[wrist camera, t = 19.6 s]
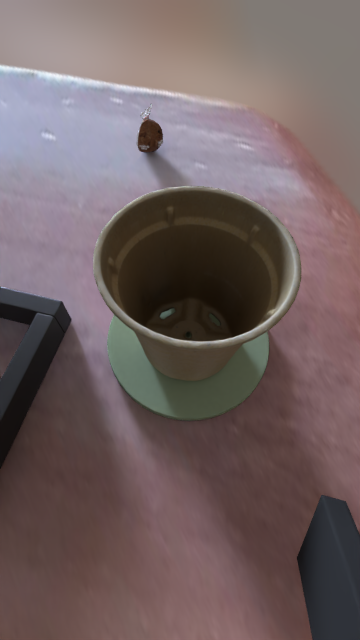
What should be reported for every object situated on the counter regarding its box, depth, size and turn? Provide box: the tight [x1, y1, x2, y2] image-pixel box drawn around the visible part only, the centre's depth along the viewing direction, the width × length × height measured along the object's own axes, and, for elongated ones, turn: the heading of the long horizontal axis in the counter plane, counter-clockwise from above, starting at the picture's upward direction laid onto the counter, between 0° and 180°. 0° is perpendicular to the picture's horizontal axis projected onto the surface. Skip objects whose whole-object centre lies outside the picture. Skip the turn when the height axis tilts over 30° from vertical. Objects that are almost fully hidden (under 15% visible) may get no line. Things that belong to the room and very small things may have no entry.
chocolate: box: [137, 104, 163, 152], centre depth 32 cm, size 3×2×4 cm
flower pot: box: [93, 186, 301, 381], centre depth 19 cm, size 9×9×9 cm
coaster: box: [107, 308, 269, 421], centre depth 23 cm, size 11×11×1 cm
